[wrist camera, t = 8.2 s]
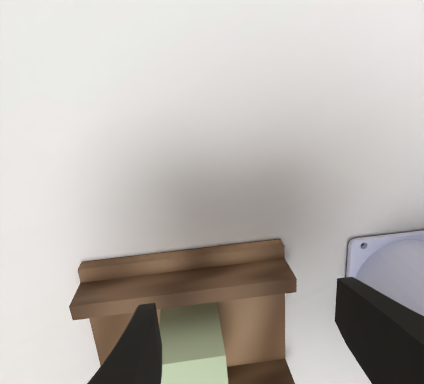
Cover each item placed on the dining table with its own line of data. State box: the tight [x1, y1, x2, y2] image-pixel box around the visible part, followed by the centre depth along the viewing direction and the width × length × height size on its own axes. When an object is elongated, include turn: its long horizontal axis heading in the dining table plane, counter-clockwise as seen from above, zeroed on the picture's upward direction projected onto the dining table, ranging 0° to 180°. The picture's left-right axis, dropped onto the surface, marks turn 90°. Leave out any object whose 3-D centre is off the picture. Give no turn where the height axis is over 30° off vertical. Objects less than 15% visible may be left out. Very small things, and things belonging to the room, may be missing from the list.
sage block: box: [159, 302, 228, 384], centre depth 22 cm, size 4×4×5 cm
